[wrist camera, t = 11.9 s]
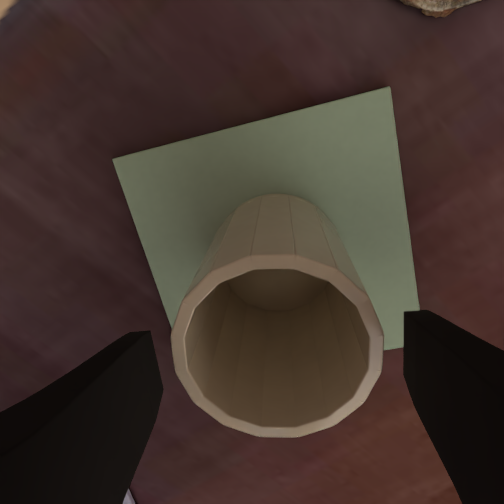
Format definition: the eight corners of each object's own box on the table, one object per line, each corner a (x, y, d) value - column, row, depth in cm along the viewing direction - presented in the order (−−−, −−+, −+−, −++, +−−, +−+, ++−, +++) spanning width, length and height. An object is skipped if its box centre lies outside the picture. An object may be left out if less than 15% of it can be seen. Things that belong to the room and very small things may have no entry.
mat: (192, 379, 22) (191, 384, 21) (114, 158, 18) (111, 159, 18) (421, 339, 20) (424, 343, 20) (387, 86, 16) (390, 85, 16)
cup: (247, 328, 20) (228, 460, 12) (192, 225, 18) (132, 304, 11) (358, 285, 19) (412, 401, 11) (311, 171, 17) (336, 218, 10)
